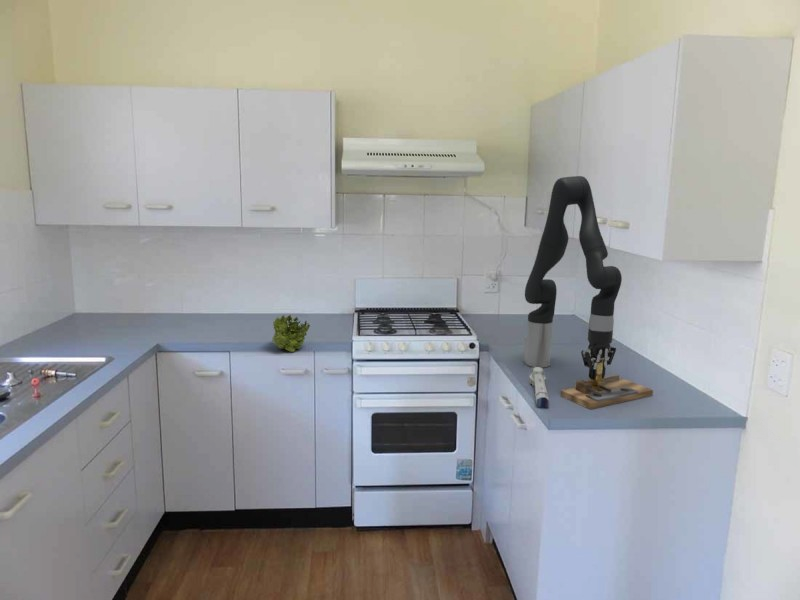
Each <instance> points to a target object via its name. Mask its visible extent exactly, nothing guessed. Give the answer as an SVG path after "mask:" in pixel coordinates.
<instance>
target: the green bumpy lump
mask: <svg viewBox="0 0 800 600" xmlns="http://www.w3.org/2000/svg"><path fill="white" fill-rule="evenodd" d="M285 316H286V315H285V314H284V315H282V316H281V317H280V316H278V317H276V319H274V321H273V329H274V334H273V336H272V342H273V344H274V345H275V346H276V347H277V348H279V349H280V350H283V349H284V350H285V351H288V352H289V353H294V352H295V351H296V350H298V349H300V348H302V347H301V346H302V345H303V344H304V342H305V341H304V340H305V339H306V338H305V336H307V335H308V333H307V332H308V331H309V329H310V327H311V325H310V324H309V323H308V322H307V320H305V321H304V323H302V322H301V320H299V319H298V317H297V316H295V318H293V317H292V315H291V314H289V315H287V316H286V317H285Z"/></svg>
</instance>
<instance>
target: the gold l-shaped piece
mask: <svg viewBox="0 0 800 600" xmlns="http://www.w3.org/2000/svg"><path fill="white" fill-rule="evenodd" d="M593 364H594V362H593V363H592V365H593ZM596 369H597V370H596V379H595V380H592V379H590V378H589V377H588V379H587V380H588V382H589V383H592V389H594V390H597V391H598V390H603V389H604V390H606V391H609V392H611V389H610V388H607V387H605V386H604V380H602V370H603V361H599V362H598V363H597V367H596Z"/></svg>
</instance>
